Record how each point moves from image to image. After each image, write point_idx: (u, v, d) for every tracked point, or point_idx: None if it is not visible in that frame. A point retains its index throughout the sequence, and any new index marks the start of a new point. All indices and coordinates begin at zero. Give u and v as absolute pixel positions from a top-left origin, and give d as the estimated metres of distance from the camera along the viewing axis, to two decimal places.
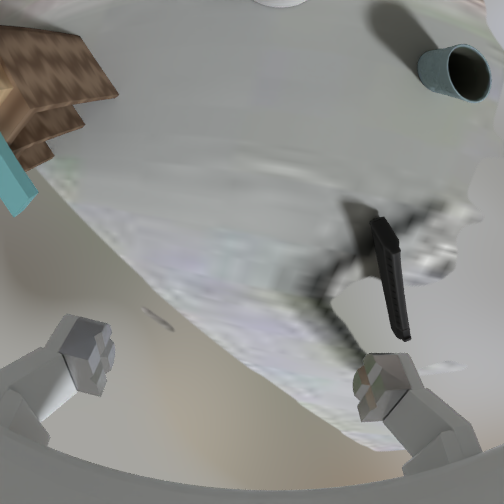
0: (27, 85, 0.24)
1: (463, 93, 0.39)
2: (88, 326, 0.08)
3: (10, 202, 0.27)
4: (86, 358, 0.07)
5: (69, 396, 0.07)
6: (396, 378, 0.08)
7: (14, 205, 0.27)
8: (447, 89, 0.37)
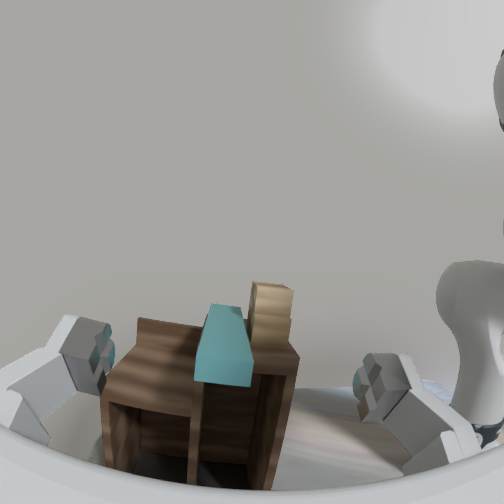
0: None
1: None
2: (88, 326, 0.08)
3: (212, 350, 0.22)
4: (86, 358, 0.07)
5: (69, 396, 0.07)
6: (396, 378, 0.08)
7: (216, 353, 0.21)
8: None
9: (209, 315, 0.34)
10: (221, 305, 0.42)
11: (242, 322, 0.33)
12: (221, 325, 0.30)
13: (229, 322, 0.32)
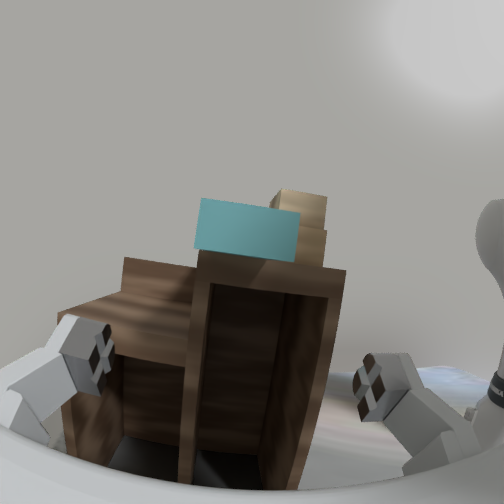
0: None
1: None
2: (88, 326, 0.08)
3: None
4: (86, 358, 0.07)
5: (69, 396, 0.07)
6: (396, 378, 0.08)
7: None
8: None
9: None
10: None
11: None
12: None
13: None
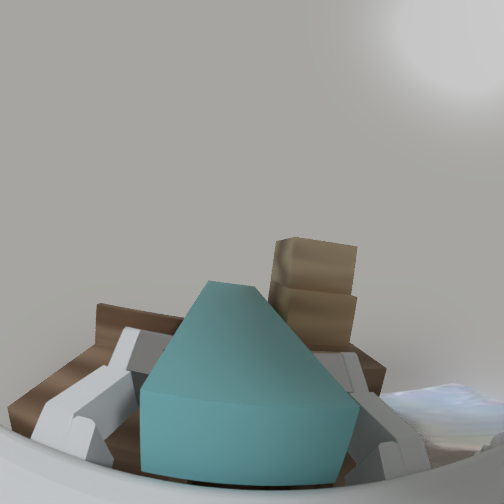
0: None
1: None
2: (154, 339, 0.08)
3: (204, 367, 0.06)
4: None
5: (131, 413, 0.07)
6: None
7: (217, 381, 0.06)
8: None
9: (204, 292, 0.19)
10: (224, 283, 0.26)
11: (267, 304, 0.17)
12: (227, 307, 0.15)
13: (242, 303, 0.17)
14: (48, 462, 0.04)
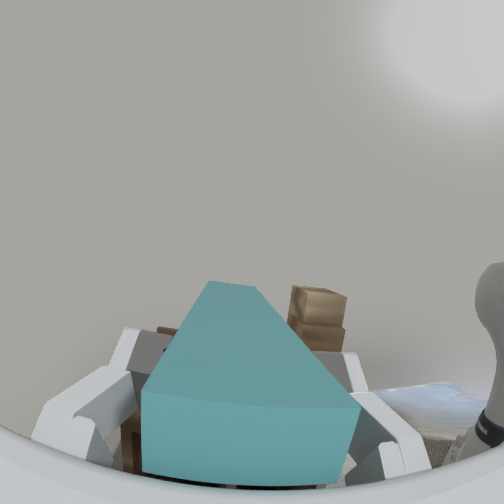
0: None
1: None
2: (153, 339, 0.08)
3: (206, 368, 0.06)
4: None
5: (131, 413, 0.07)
6: None
7: (219, 381, 0.06)
8: None
9: (204, 292, 0.19)
10: (225, 283, 0.26)
11: (267, 304, 0.17)
12: (228, 307, 0.15)
13: (243, 303, 0.17)
14: (48, 462, 0.04)
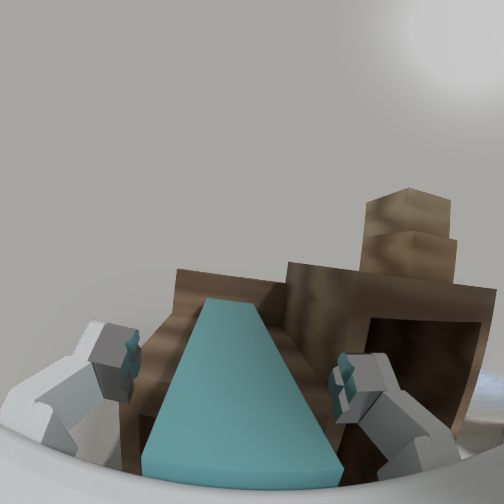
0: None
1: None
2: (117, 332, 0.08)
3: (200, 426, 0.06)
4: (118, 366, 0.07)
5: (96, 404, 0.07)
6: (370, 379, 0.08)
7: (212, 443, 0.06)
8: None
9: (202, 316, 0.19)
10: (223, 300, 0.26)
11: (264, 330, 0.17)
12: (224, 337, 0.15)
13: (240, 330, 0.16)
14: (48, 462, 0.04)
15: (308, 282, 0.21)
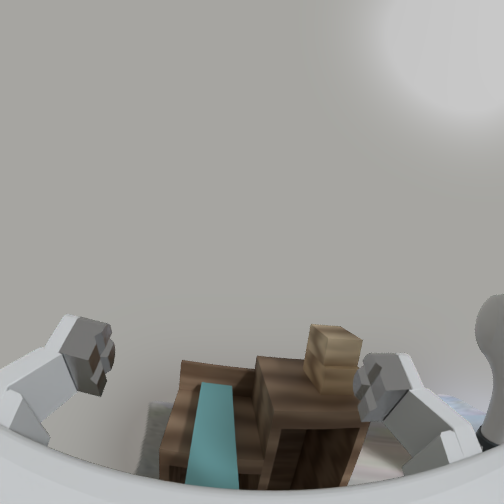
0: None
1: None
2: (88, 326, 0.08)
3: (199, 483, 0.18)
4: (86, 358, 0.07)
5: (69, 396, 0.07)
6: (396, 378, 0.08)
7: None
8: None
9: (198, 410, 0.30)
10: (212, 384, 0.38)
11: (232, 420, 0.29)
12: (210, 430, 0.26)
13: (218, 422, 0.28)
14: (48, 462, 0.04)
15: (262, 387, 0.33)
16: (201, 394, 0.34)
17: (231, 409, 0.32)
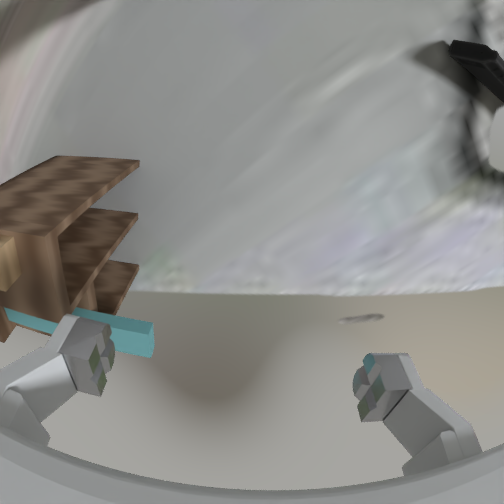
0: (26, 222, 0.23)
1: None
2: (88, 326, 0.08)
3: (137, 349, 0.33)
4: (86, 358, 0.07)
5: (69, 396, 0.07)
6: (396, 378, 0.08)
7: (142, 349, 0.33)
8: None
9: (51, 333, 0.33)
10: (8, 313, 0.32)
11: None
12: None
13: None
14: (48, 462, 0.04)
15: None
16: (27, 325, 0.32)
17: None
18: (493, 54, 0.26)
